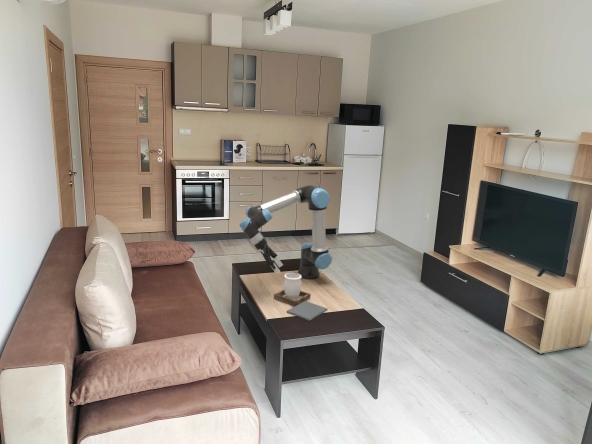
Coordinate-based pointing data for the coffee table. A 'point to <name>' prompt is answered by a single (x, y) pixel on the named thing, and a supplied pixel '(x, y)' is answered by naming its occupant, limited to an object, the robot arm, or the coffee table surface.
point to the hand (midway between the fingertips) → (279, 269)
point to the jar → (292, 285)
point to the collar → (280, 297)
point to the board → (307, 310)
